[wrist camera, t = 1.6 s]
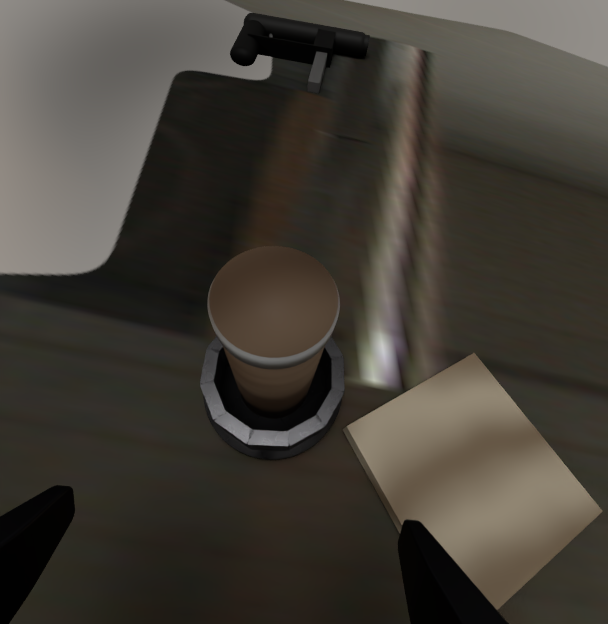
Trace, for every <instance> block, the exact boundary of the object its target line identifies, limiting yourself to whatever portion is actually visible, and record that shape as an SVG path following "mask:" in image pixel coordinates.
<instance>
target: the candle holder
mask: <svg viewBox="0 0 608 624" xmlns="http://www.w3.org/2000/svg"><path fill="white" fill-rule="evenodd" d="M342 356H343V355H342V353H341V352H340V350H339V348H338V347H337V345H336V343H335V342H334V340H333V339H332V337H330V339H329V340H328V342H327V344H326V345H325V347H324V350H323V352H322V355H321V358H320V361H319V363H318V366H317V369H316V371H315V374H314V377H313V380H312V382H311V385H310V388H309V391H308V393H307V396H306V399H305V400H304V402H303V404H302V405H301V406H300V407H299V408H298V409H297V410H296V411H295V412H294V413H292V414H290V415H288V416H286V417H283V418H278V419H269V418H264V417H261V416H259V415H257V414H255V413H253V412H252V411H251V410H250V409H249V408H248V407H247V406H246V404H245V403H244V401H243V399H242V397H241V394H240V391H239V389H238V386H237V383H236V380H235V378H234V375H233V372H232V370H231V367H230V364H229V361H228V359H227V356H226V353H225V350H224V348H223V345H222V344H221V343H220V341H219V339H218V338H217V337H216V338H215V339H214V340H213V341H212V342H211V344H210V345H209V346H208V349H207V350H206V355H205V360H204V365H203V370H202V375H201V380H200V384H201V385H200V386H201V389H202V391H203V394H204V404H205V408H206V412H207V415H208V417H209V420H210V422H211V424H212V426H213V427H214V429H215V430H216V432H217V433H218V434H219V435H220V436H221V437H222V439H223V440H224V441H225V442H227V443H228V444H229V445H230V446H231V447H233V448H234V449H236V450H237V451H239V452H241V453H243V454H245V455H248V456H250V457H254V458H257V459H264V460H280V459H285V458H290V457H293V456H296V455H298V454H300V453H302V452H304V451H306V450H308V449H309V448H311V447H312V446H314V445H315V444H316V443H317V442H318V441H319V440H320V439H321V438H322V437H323V436H324V435H325V434H326V433H327V432H328V430H329V429H330V428H331V426H332V424H333V423H334V421H335V419H336V417H337V415H338V412H339V409H340V406H341V400H342V396H343V394H344V361H343V357H342Z"/></svg>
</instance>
